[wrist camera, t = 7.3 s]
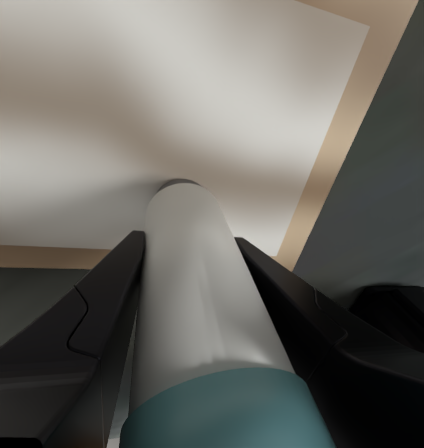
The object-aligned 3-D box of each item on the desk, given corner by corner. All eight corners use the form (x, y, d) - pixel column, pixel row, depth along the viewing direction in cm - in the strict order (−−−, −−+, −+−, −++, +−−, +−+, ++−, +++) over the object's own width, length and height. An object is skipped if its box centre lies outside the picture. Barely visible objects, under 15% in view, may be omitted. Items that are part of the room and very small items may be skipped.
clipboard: (285, 265, 17) (298, 284, 15) (-151, 251, 11) (-200, 280, 10) (405, -5, 10) (450, -19, 8) (-591, -409, 4) (-1011, -677, 3)
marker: (209, 237, 13) (306, 549, 4) (141, 233, 12) (105, 611, 4) (224, 175, 11) (420, 488, 3) (146, 165, 10) (100, 574, 2)
